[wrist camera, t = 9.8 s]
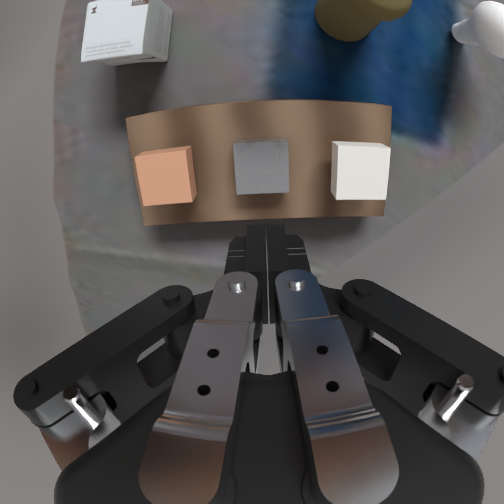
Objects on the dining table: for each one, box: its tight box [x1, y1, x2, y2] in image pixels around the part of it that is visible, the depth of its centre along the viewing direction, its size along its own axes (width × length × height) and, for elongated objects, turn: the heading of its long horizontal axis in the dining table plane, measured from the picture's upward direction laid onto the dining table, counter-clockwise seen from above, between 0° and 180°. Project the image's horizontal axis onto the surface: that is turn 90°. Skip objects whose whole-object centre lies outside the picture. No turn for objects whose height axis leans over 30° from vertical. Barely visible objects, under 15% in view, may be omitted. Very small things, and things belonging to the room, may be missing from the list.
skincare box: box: [81, 0, 173, 66], centre depth 19 cm, size 6×6×7 cm
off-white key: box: [331, 141, 391, 200], centre depth 22 cm, size 4×4×2 cm
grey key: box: [233, 138, 289, 195], centre depth 24 cm, size 4×4×2 cm
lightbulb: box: [452, 1, 504, 59], centre depth 15 cm, size 6×6×11 cm
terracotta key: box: [135, 146, 197, 206], centre depth 24 cm, size 4×4×2 cm
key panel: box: [126, 100, 392, 226], centre depth 27 cm, size 24×11×4 cm, turn 93°
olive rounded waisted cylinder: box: [315, 0, 412, 42], centre depth 16 cm, size 6×6×11 cm
